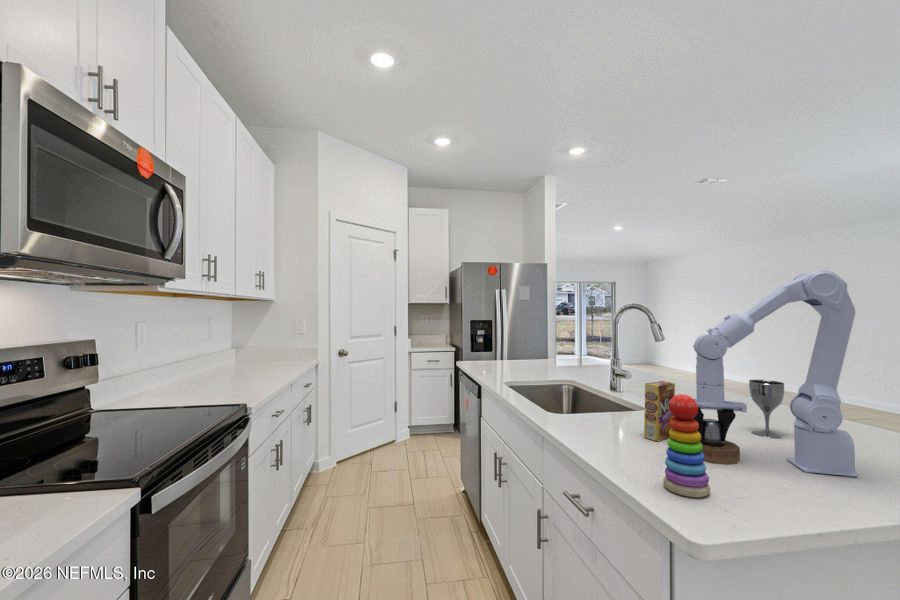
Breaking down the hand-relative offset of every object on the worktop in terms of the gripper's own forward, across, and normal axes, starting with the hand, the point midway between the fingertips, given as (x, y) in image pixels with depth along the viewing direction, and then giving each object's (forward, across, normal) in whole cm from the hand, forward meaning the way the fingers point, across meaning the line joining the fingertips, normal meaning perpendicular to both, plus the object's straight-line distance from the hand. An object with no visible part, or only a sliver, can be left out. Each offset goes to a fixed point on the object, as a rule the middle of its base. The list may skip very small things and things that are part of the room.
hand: (711, 439), depth 98 cm
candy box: (+4, +9, -12) cm, 16 cm away
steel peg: (+2, 0, 0) cm, 3 cm away
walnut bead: (+4, 0, 0) cm, 4 cm away
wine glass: (+4, -21, -24) cm, 32 cm away
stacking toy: (+4, +11, +23) cm, 26 cm away
